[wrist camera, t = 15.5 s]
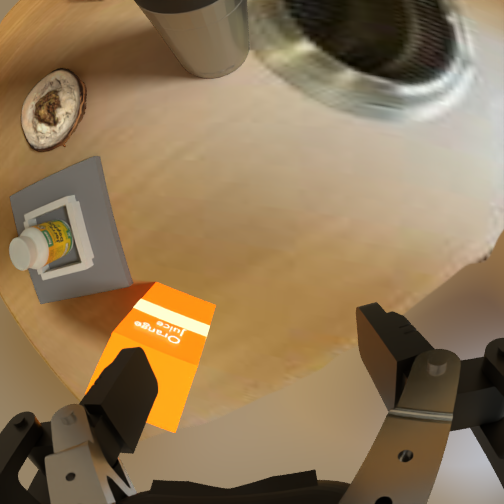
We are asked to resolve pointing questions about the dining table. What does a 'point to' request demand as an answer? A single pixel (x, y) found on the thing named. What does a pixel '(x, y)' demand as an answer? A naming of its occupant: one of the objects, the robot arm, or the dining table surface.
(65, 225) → the supplement bottle
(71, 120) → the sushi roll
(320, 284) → the dining table surface
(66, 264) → the socket board
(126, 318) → the orange juice
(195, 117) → the dining table surface
